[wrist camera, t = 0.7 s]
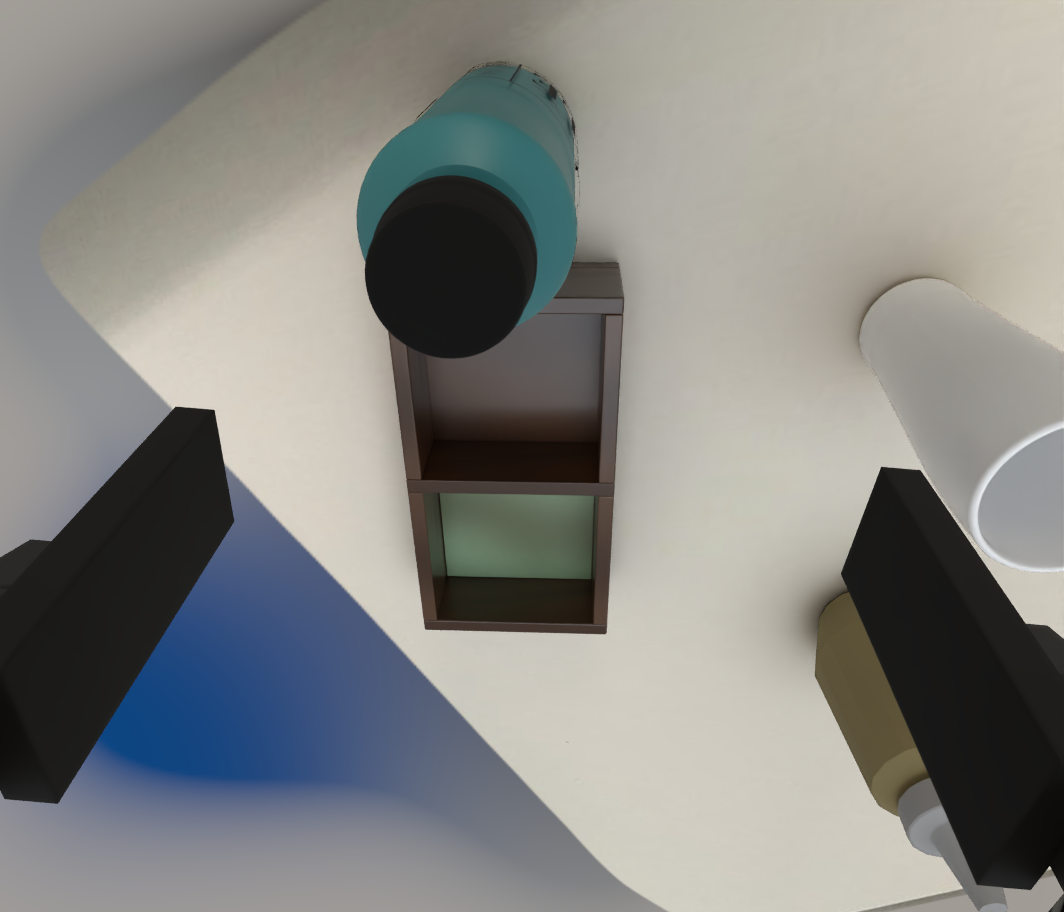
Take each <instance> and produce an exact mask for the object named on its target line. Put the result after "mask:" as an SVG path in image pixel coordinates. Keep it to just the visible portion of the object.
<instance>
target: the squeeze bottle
mask: <svg viewBox="0 0 1064 912" xmlns="http://www.w3.org/2000/svg"><path fill="white" fill-rule="evenodd" d="M815 677H816V679H817V681H818V683H819V685H820V687H821V689H822V692H823V694H824V696H825V698H826V700H827V702H828V704H829V706H830V708H831V710H832V712H833V715H834V717H835V719H836V721H837V723H838V725H839V727H840V729H841V731H842V733H843V735H844V738H845V740H846V742H847V744H848V746H849V748H850V750H851V752H852V754H853V756H854V758H855V761H856V763H857V765H858V767H859V769H860V771H861V773H862V775H863V777H864V779H865V781H866V783H867V786H868V788H869V790H870V792H871V794H872V795H873V797H874V799H875V800H876V802H877V804H878V805H879V806H880V807H882V808H883V809H885V810H887V811H889V812H890V813H892V814H894V815H896V816H899V817H900V819H901V822H902V824H903V827H904V830H905V832H906V835H907V837H908V839H909V841H910V842H911V844H912V846H913V847H915V848H916V849H918V850H920V851H922V852H923V853H925V854H927V855H932V856H938V857H943V859H944V860H945V862H946V863H947V865H948V866H949V868H950V869H951V871H952V872H953V874H954V875H955V877H956V878H957V880H958V881H959V883H960V884H961V886H962V887H963V889H964V890H965V892H966V893H967V895H968V896H969V898H970V899H971V900H972V902H973V904H974V905H975V907H976V908H977V910H978V911H979V912H1007V909H1008V907H1007V903H1006V899H1005V894H1004V890H1003V887H992V886H981V885H976V882H975V880H974V878H973V876H972V873H971V871H970V869H969V866H968V864H967V862H966V859H965V857H964V855H963V853H962V850H961V848H960V846H959V843H958V841H957V839H956V836H955V834H954V832H953V830H952V827H951V825H950V823H949V820H948V818H947V816H946V814H945V811H944V809H943V807H942V804H941V802H940V800H939V797H938V795H937V793H936V791H935V788H934V786H933V784H932V781H931V779H930V777H929V775H928V772H927V770H926V768H925V765H924V763H923V761H922V758H921V756H920V754H919V752H918V749H917V747H916V745H915V742H914V740H913V738H912V736H911V733H910V731H909V729H908V726H907V724H906V722H905V719H904V717H903V715H902V713H901V710H900V708H899V706H898V703H897V701H896V699H895V697H894V694H893V692H892V690H891V687H890V685H889V683H888V680H887V678H886V676H885V674H884V671H883V669H882V667H881V664H880V662H879V660H878V658H877V655H876V653H875V651H874V648H873V646H872V644H871V641H870V639H869V637H868V635H867V632H866V630H865V628H864V625H863V623H862V621H861V619H860V616H859V614H858V612H857V609H856V607H855V605H854V602H853V600H852V598H851V596H850V593H849V592H847V593H844V594H842V595H840V596H839V597H837V598H836V599H835V600H833V601H832V602H831V603H829V604H828V605H827V606H826V608H825V609H824V611H823V613H822V614H821V616H820V617H819V625H818V638H817V650H816V664H815Z"/></svg>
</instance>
